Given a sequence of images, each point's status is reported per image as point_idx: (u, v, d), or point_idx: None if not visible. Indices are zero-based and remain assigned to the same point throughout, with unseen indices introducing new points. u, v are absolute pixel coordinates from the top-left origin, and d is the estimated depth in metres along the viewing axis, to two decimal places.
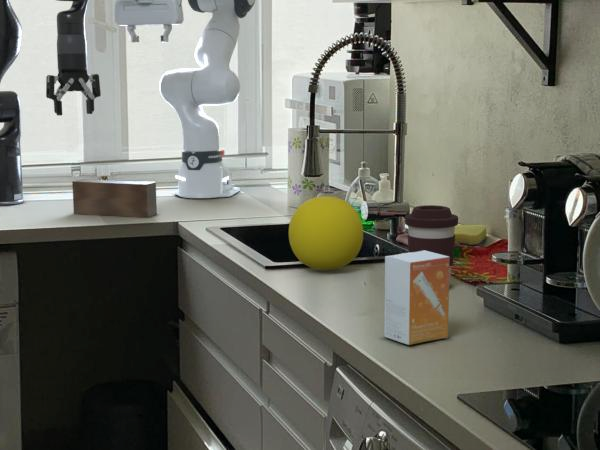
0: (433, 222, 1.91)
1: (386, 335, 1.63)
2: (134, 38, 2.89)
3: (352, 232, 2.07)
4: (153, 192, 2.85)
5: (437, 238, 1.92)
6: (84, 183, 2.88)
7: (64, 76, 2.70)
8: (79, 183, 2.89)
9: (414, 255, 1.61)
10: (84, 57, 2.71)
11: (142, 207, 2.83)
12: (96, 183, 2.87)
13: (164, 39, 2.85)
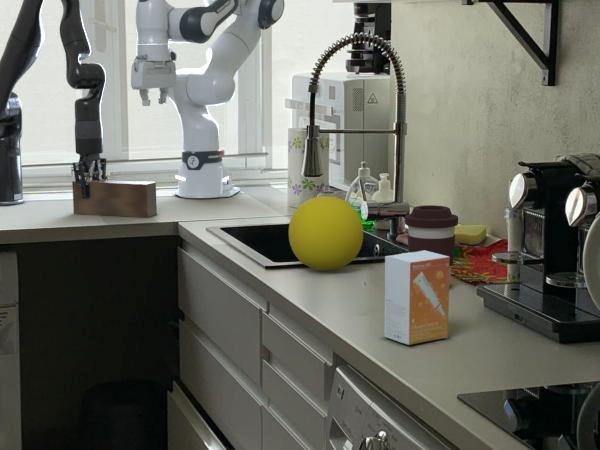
0: (433, 222, 1.91)
1: (386, 335, 1.63)
2: None
3: (352, 232, 2.07)
4: (153, 192, 2.85)
5: (437, 238, 1.92)
6: None
7: None
8: None
9: (414, 255, 1.61)
10: (75, 141, 2.88)
11: (142, 207, 2.83)
12: (96, 183, 2.87)
13: None
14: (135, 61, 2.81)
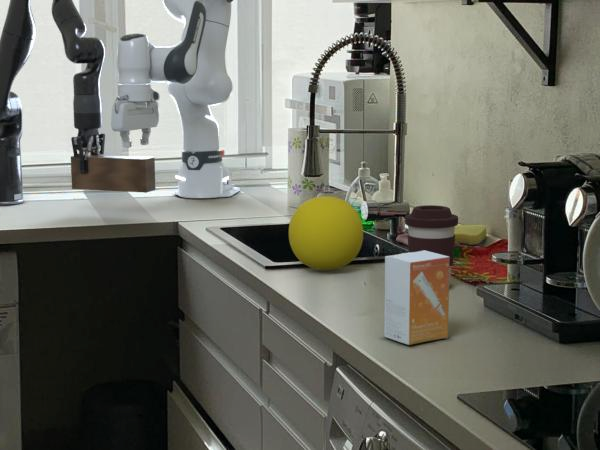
0: (433, 222, 1.91)
1: (386, 335, 1.63)
2: None
3: (352, 232, 2.07)
4: (151, 167, 2.84)
5: (437, 238, 1.92)
6: None
7: None
8: None
9: (414, 255, 1.61)
10: None
11: (141, 182, 2.82)
12: (94, 158, 2.86)
13: None
14: (115, 102, 2.72)
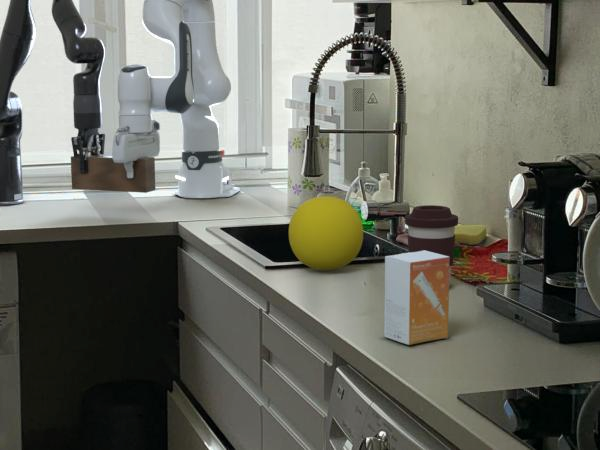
0: (433, 222, 1.91)
1: (386, 335, 1.63)
2: None
3: (352, 232, 2.07)
4: (151, 167, 2.84)
5: (437, 238, 1.92)
6: None
7: None
8: None
9: (414, 255, 1.61)
10: None
11: (141, 182, 2.82)
12: (94, 158, 2.86)
13: None
14: (116, 134, 2.74)
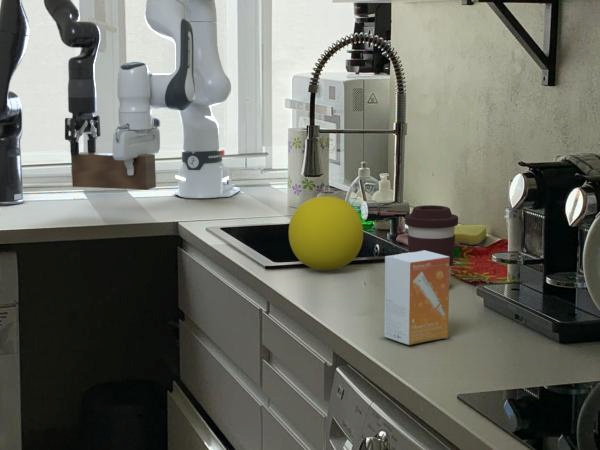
0: (433, 222, 1.91)
1: (386, 335, 1.63)
2: None
3: (352, 232, 2.07)
4: (152, 164, 2.84)
5: (437, 238, 1.92)
6: (83, 156, 2.87)
7: None
8: (78, 156, 2.88)
9: (414, 255, 1.61)
10: (68, 100, 2.86)
11: (141, 179, 2.82)
12: (95, 155, 2.86)
13: None
14: (116, 132, 2.74)
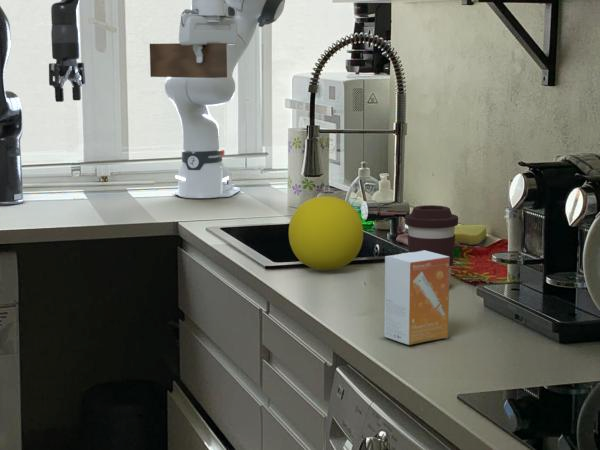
0: (433, 222, 1.91)
1: (386, 335, 1.63)
2: None
3: (352, 232, 2.07)
4: (222, 52, 2.78)
5: (437, 238, 1.92)
6: (159, 45, 2.86)
7: None
8: (155, 45, 2.87)
9: (414, 255, 1.61)
10: None
11: (210, 67, 2.76)
12: (170, 44, 2.83)
13: None
14: (182, 15, 2.69)
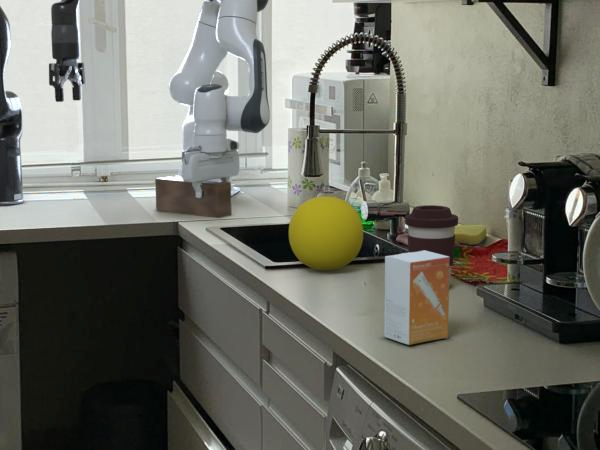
0: (433, 222, 1.91)
1: (386, 335, 1.63)
2: None
3: (352, 232, 2.07)
4: (227, 192, 2.84)
5: (437, 238, 1.92)
6: (165, 180, 2.92)
7: None
8: (161, 180, 2.93)
9: (414, 255, 1.61)
10: None
11: (214, 206, 2.82)
12: (175, 181, 2.90)
13: None
14: (185, 154, 2.76)
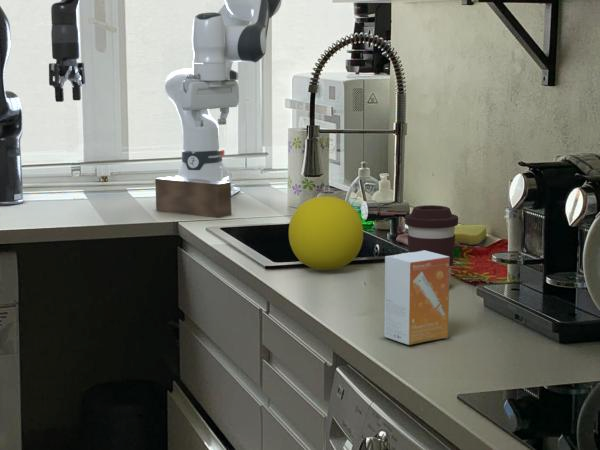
0: (433, 222, 1.91)
1: (386, 335, 1.63)
2: None
3: (352, 232, 2.07)
4: (227, 192, 2.84)
5: (437, 238, 1.92)
6: (165, 181, 2.92)
7: None
8: (161, 180, 2.93)
9: (414, 255, 1.61)
10: None
11: (214, 206, 2.82)
12: (175, 181, 2.90)
13: None
14: (184, 81, 2.72)
